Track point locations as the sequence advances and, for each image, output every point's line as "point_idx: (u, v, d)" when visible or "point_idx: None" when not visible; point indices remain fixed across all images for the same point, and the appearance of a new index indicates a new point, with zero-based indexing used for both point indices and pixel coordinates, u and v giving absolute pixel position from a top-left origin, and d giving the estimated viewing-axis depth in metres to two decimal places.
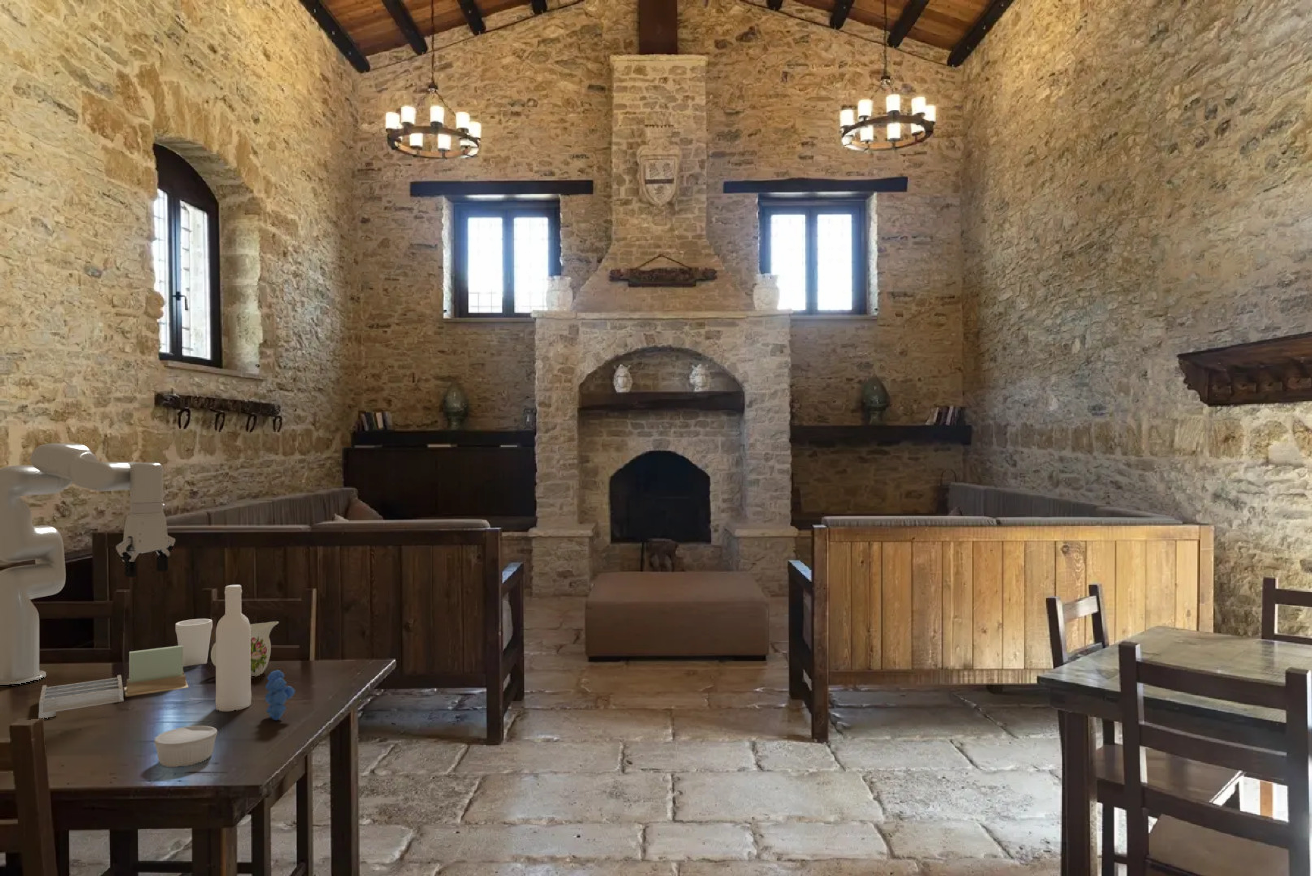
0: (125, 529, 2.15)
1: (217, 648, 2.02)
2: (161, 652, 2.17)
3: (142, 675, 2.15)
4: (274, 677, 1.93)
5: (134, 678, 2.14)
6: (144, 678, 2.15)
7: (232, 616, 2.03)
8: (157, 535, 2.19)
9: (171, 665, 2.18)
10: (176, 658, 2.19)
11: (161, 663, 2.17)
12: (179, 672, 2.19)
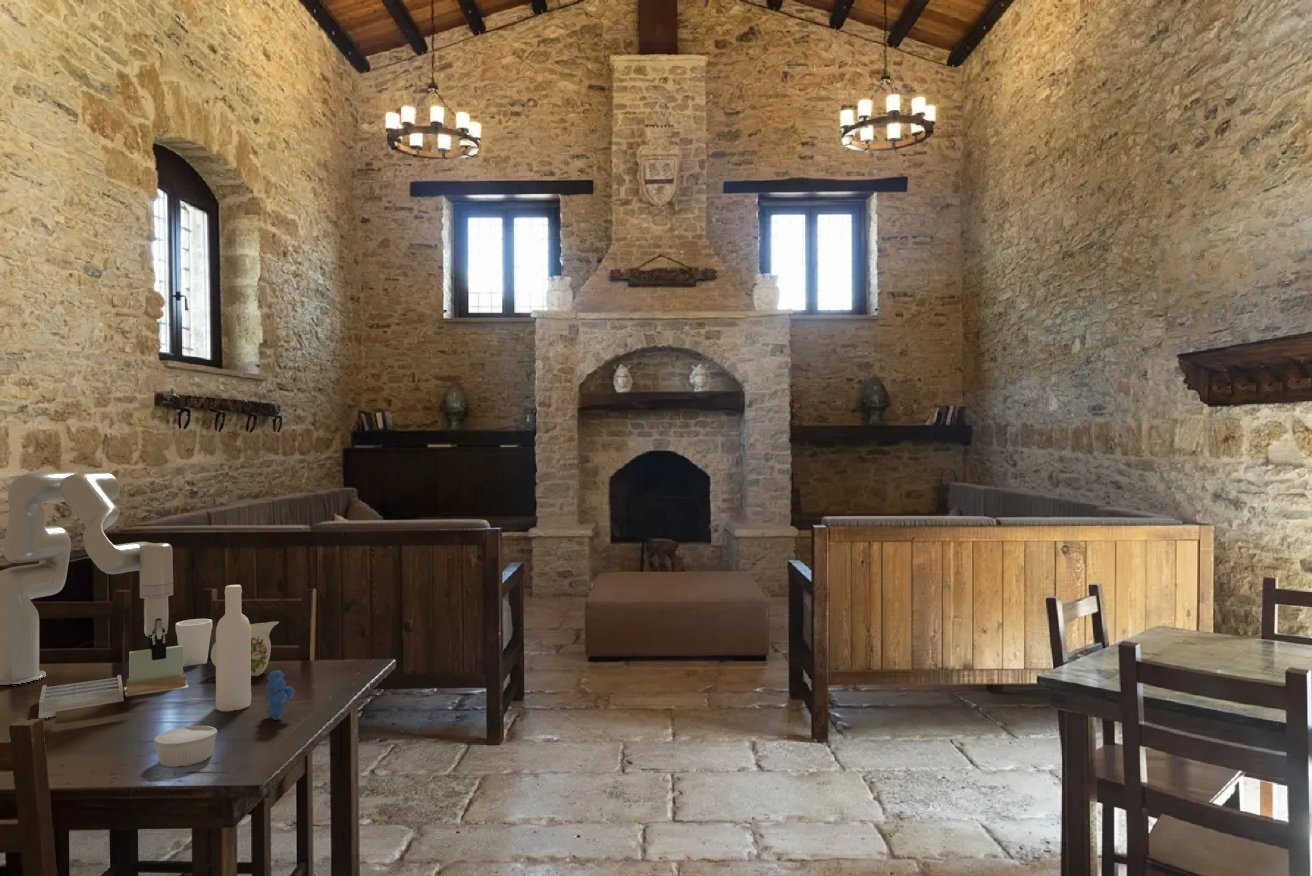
0: (150, 612, 2.13)
1: (217, 648, 2.02)
2: None
3: (142, 675, 2.15)
4: (274, 677, 1.93)
5: (134, 678, 2.14)
6: (144, 678, 2.15)
7: (232, 616, 2.03)
8: None
9: (171, 665, 2.18)
10: (176, 658, 2.19)
11: (161, 663, 2.17)
12: (179, 672, 2.19)
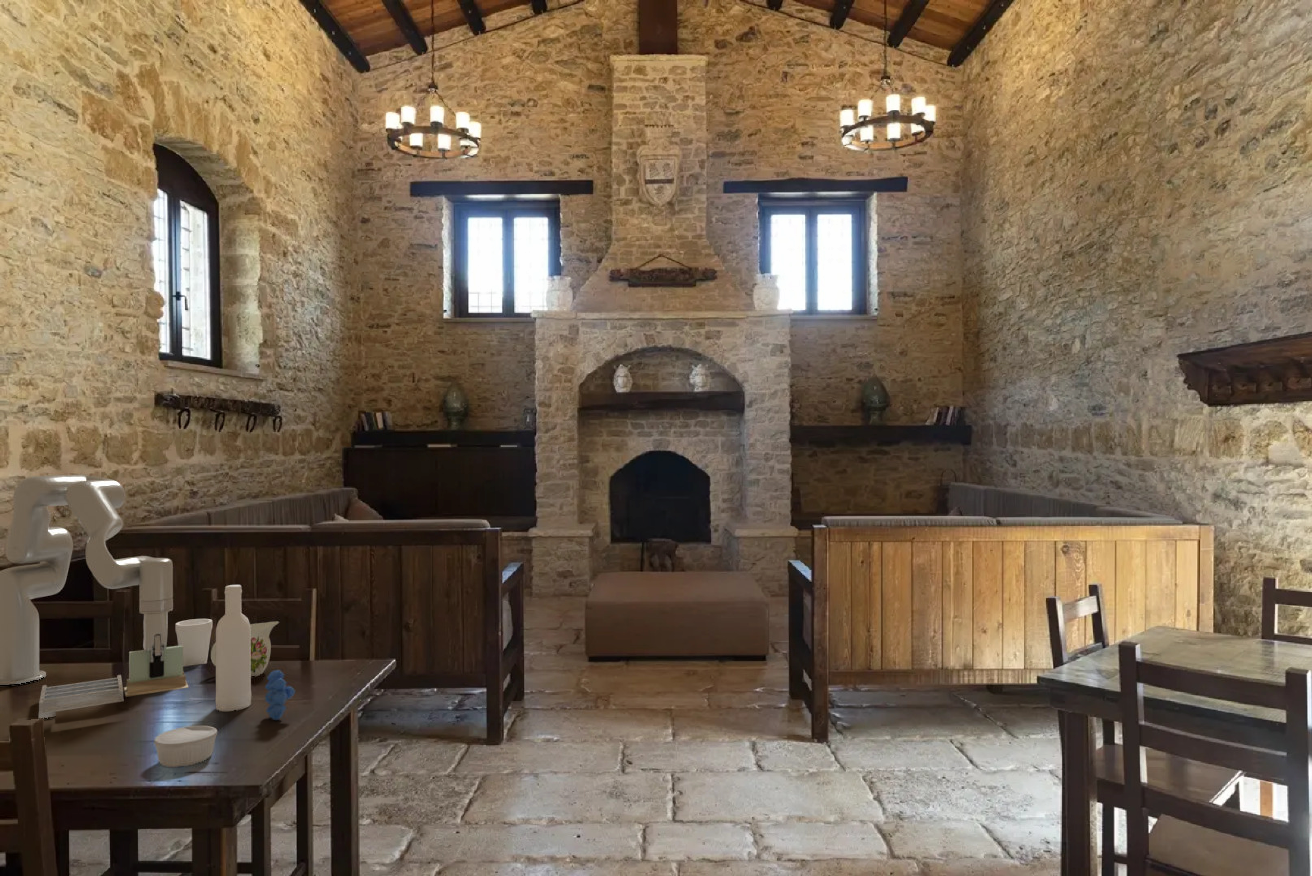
0: (149, 628, 2.13)
1: (217, 648, 2.02)
2: None
3: (142, 675, 2.15)
4: (274, 677, 1.93)
5: (134, 678, 2.14)
6: (144, 678, 2.15)
7: (232, 616, 2.03)
8: None
9: (171, 665, 2.18)
10: (176, 658, 2.19)
11: None
12: (179, 672, 2.19)
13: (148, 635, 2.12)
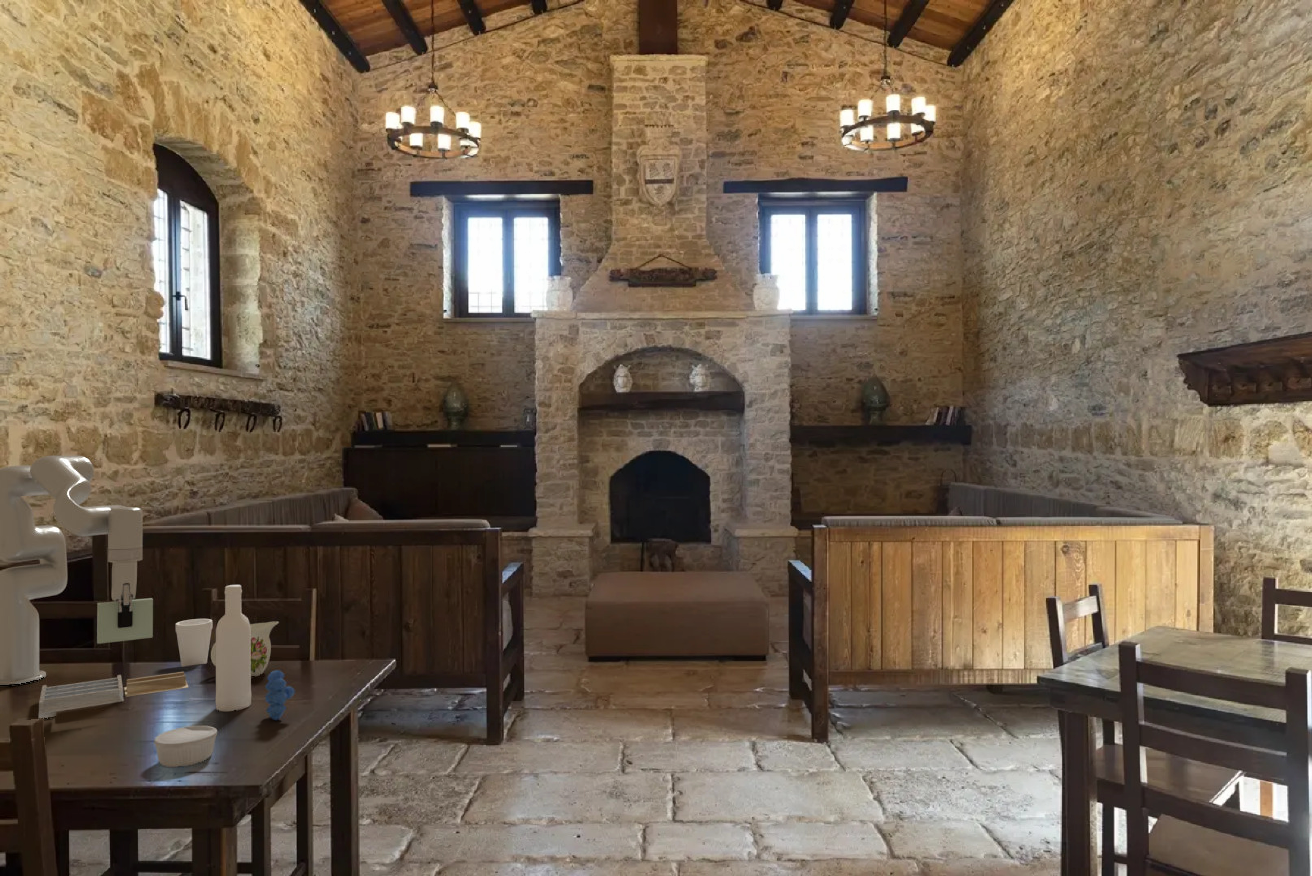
0: (118, 577, 2.09)
1: (217, 648, 2.02)
2: None
3: (111, 627, 2.11)
4: (274, 677, 1.93)
5: (102, 630, 2.10)
6: (113, 630, 2.11)
7: (232, 616, 2.03)
8: None
9: (141, 617, 2.15)
10: (146, 611, 2.16)
11: None
12: (149, 624, 2.16)
13: (116, 584, 2.09)
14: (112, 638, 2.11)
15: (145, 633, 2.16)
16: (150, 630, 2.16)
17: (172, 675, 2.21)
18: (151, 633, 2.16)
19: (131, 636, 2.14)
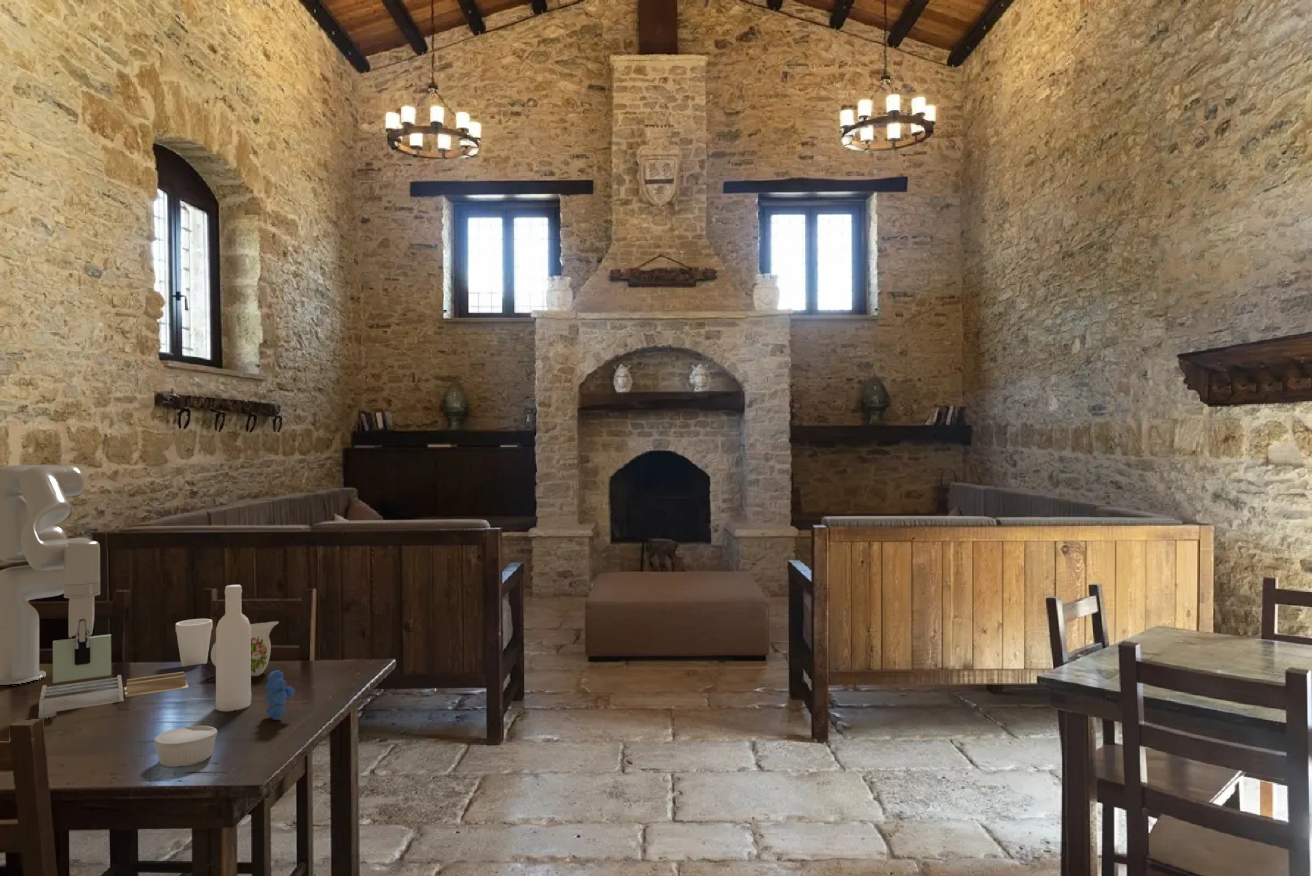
0: (73, 613, 2.04)
1: (217, 648, 2.02)
2: None
3: (67, 665, 2.06)
4: (274, 677, 1.93)
5: (58, 668, 2.05)
6: (69, 668, 2.06)
7: (232, 616, 2.03)
8: None
9: (98, 655, 2.09)
10: (104, 648, 2.10)
11: None
12: (107, 662, 2.10)
13: (72, 620, 2.03)
14: (68, 677, 2.06)
15: (103, 670, 2.10)
16: (109, 668, 2.11)
17: (172, 675, 2.21)
18: (109, 670, 2.11)
19: (88, 674, 2.08)
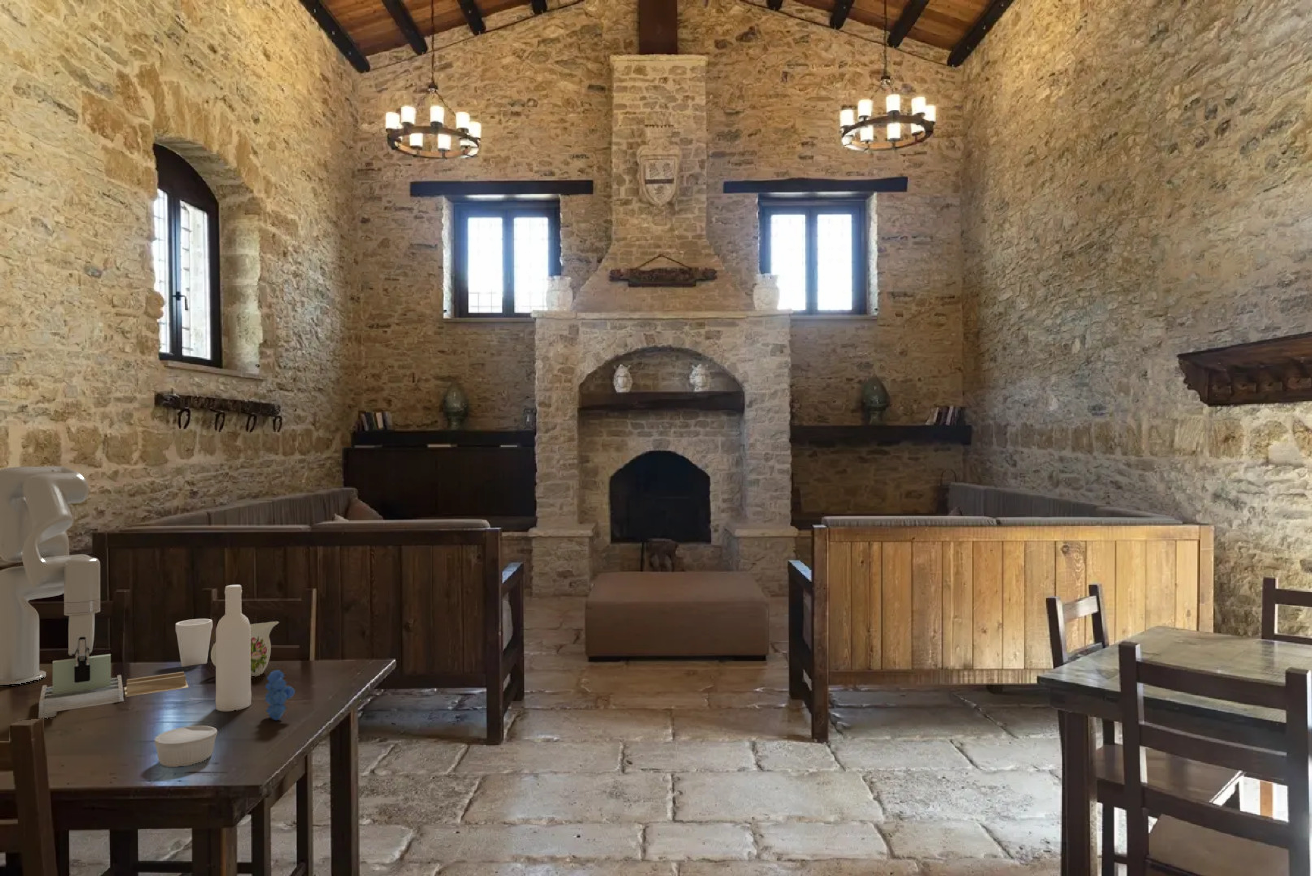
0: (73, 630, 2.04)
1: (217, 648, 2.02)
2: None
3: (67, 685, 2.06)
4: (274, 677, 1.93)
5: (58, 689, 2.05)
6: (68, 689, 2.06)
7: (232, 616, 2.03)
8: None
9: (98, 675, 2.09)
10: (104, 668, 2.10)
11: None
12: (107, 682, 2.11)
13: (72, 638, 2.03)
14: None
15: None
16: None
17: (172, 675, 2.21)
18: None
19: None
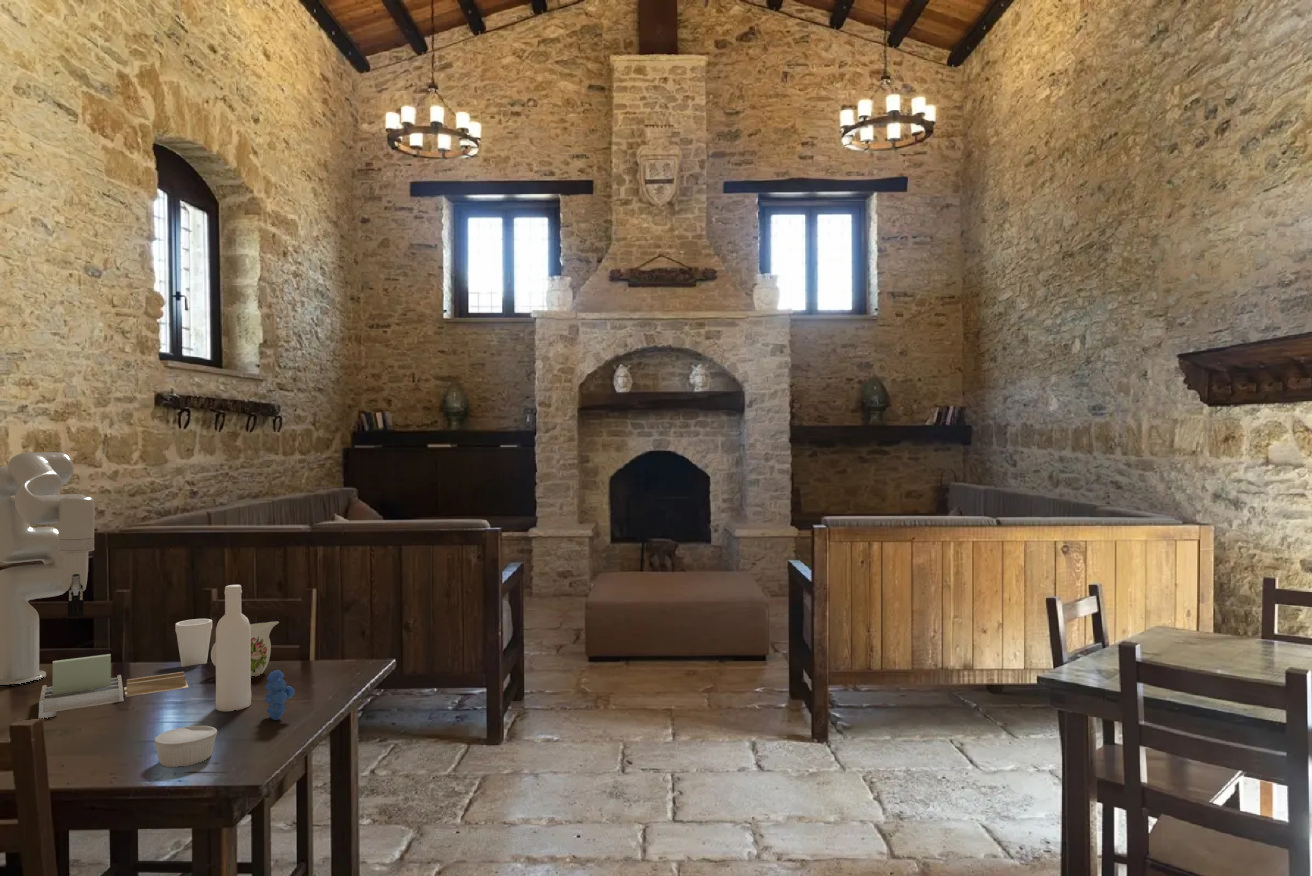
0: (67, 567, 2.04)
1: (217, 648, 2.02)
2: (87, 661, 2.08)
3: (67, 685, 2.06)
4: (274, 677, 1.93)
5: (58, 689, 2.05)
6: (68, 689, 2.06)
7: (232, 616, 2.03)
8: None
9: (98, 675, 2.09)
10: (104, 668, 2.10)
11: (87, 673, 2.08)
12: (107, 682, 2.11)
13: (66, 575, 2.04)
14: None
15: None
16: None
17: (172, 675, 2.21)
18: None
19: None
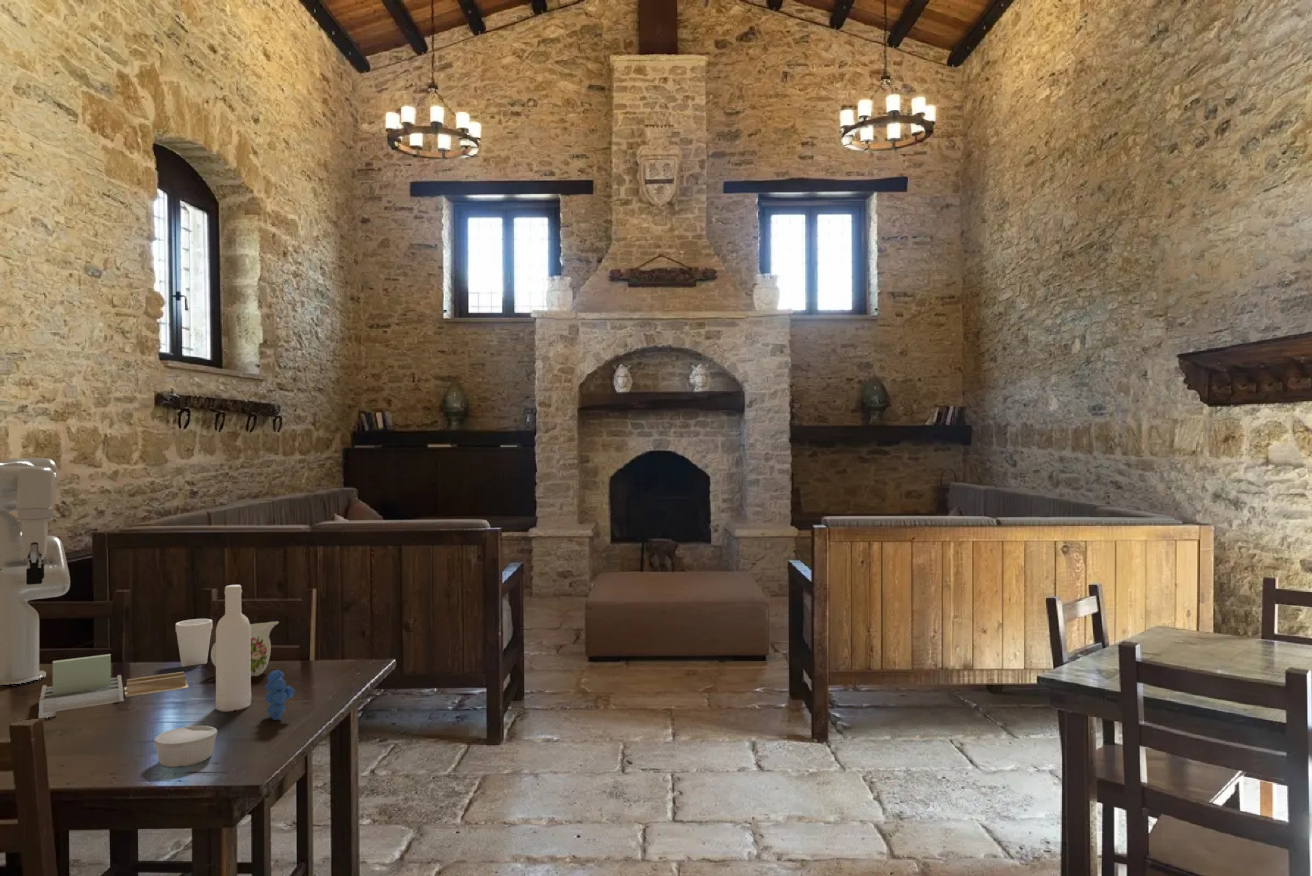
0: (25, 536, 2.08)
1: (217, 648, 2.02)
2: (87, 661, 2.08)
3: (67, 685, 2.06)
4: (274, 677, 1.93)
5: (58, 689, 2.05)
6: (68, 689, 2.06)
7: (232, 616, 2.03)
8: None
9: (98, 675, 2.09)
10: (104, 668, 2.10)
11: (87, 673, 2.08)
12: (107, 682, 2.11)
13: (24, 543, 2.08)
14: None
15: None
16: None
17: (172, 675, 2.21)
18: None
19: None
